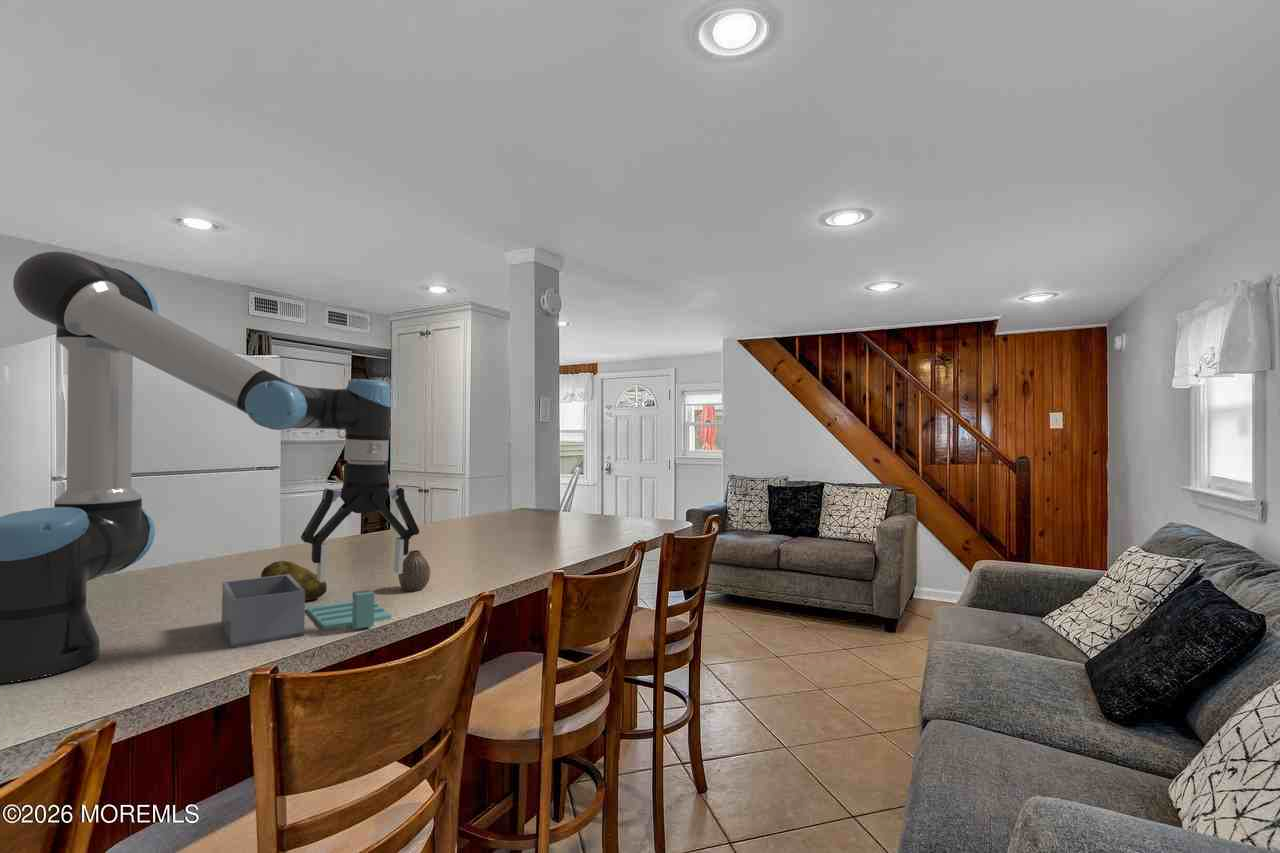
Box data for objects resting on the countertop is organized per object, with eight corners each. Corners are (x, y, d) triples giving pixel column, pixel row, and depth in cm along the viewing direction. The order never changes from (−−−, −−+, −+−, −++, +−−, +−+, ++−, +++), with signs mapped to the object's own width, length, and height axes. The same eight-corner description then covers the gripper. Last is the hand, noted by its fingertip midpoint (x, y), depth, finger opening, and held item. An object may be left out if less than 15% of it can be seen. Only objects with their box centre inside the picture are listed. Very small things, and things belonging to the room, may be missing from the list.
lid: (329, 636, 111) (330, 599, 111) (306, 610, 126) (307, 577, 126) (398, 624, 118) (399, 589, 118) (368, 600, 133) (369, 570, 134)
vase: (434, 585, 147) (435, 548, 147) (421, 593, 140) (422, 554, 140) (406, 584, 147) (407, 547, 147) (392, 592, 140) (393, 553, 140)
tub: (230, 648, 104) (231, 600, 104) (221, 624, 116) (222, 582, 116) (304, 635, 111) (305, 590, 111) (288, 614, 123) (289, 574, 123)
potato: (299, 608, 127) (300, 569, 127) (253, 601, 131) (253, 563, 131) (331, 597, 135) (332, 561, 135) (287, 591, 139) (287, 555, 139)
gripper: (294, 463, 105) (288, 589, 105) (439, 463, 121) (434, 573, 120) (286, 460, 111) (280, 579, 111) (425, 461, 126) (420, 565, 126)
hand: (360, 576), depth 116 cm, fingers open, 13 cm apart
